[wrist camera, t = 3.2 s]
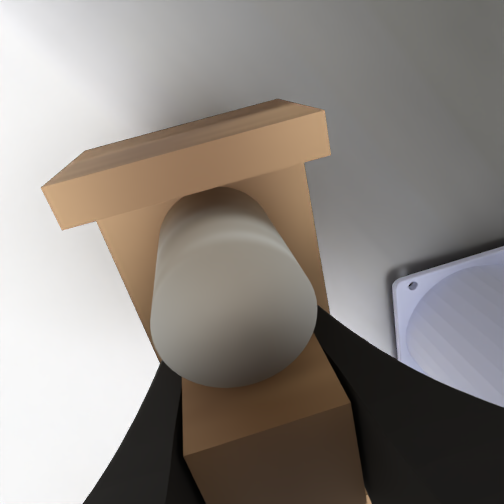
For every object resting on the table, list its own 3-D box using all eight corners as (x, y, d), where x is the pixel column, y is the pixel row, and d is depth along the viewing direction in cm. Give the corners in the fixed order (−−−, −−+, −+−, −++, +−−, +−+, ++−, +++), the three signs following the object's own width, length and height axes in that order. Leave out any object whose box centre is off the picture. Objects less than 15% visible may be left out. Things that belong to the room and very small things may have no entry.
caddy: (277, 98, 10) (385, 124, 5) (337, 417, 15) (419, 590, 10) (84, 150, 10) (-18, 237, 4) (215, 457, 15) (235, 656, 10)
